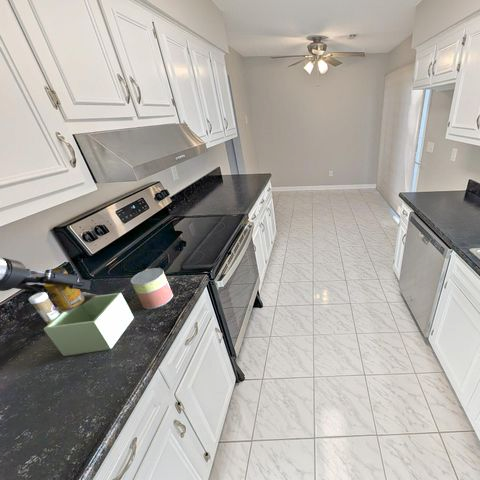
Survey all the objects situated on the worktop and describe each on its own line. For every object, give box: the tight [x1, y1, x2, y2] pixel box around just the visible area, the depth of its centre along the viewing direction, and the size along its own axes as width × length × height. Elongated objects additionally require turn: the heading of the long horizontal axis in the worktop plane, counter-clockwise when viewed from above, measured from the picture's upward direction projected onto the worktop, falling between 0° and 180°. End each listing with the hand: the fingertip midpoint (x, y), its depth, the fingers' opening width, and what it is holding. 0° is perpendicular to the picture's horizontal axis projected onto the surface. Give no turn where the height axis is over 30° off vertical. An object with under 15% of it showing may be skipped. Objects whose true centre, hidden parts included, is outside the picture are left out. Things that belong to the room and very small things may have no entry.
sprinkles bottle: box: [28, 291, 61, 325], centre depth 93 cm, size 5×5×14 cm
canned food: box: [130, 267, 174, 310], centre depth 103 cm, size 11×11×12 cm
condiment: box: [44, 266, 98, 313], centre depth 76 cm, size 7×8×12 cm
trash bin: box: [43, 292, 135, 357], centre depth 87 cm, size 15×15×12 cm
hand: (77, 287), depth 80 cm, fingers closed on condiment, 6 cm apart
